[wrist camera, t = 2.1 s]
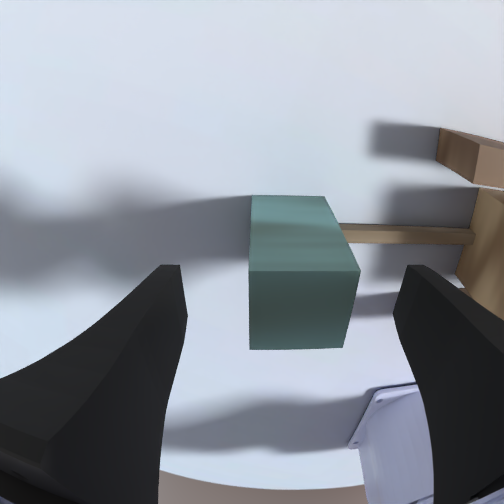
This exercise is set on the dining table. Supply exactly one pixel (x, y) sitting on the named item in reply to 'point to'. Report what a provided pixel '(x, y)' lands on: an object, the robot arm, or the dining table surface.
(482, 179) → the wooden u-shaped bracket
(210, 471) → the dining table surface
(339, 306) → the wooden blocks on rod
